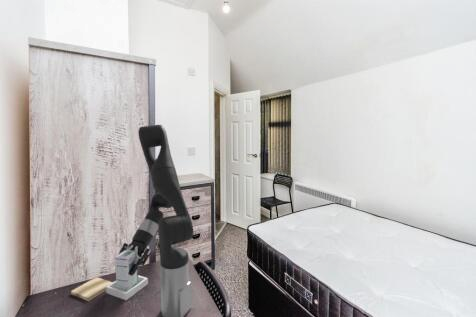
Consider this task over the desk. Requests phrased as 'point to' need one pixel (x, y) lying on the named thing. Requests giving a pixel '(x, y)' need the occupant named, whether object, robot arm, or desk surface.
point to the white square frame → (126, 295)
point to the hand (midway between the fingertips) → (123, 272)
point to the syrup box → (125, 270)
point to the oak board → (91, 289)
